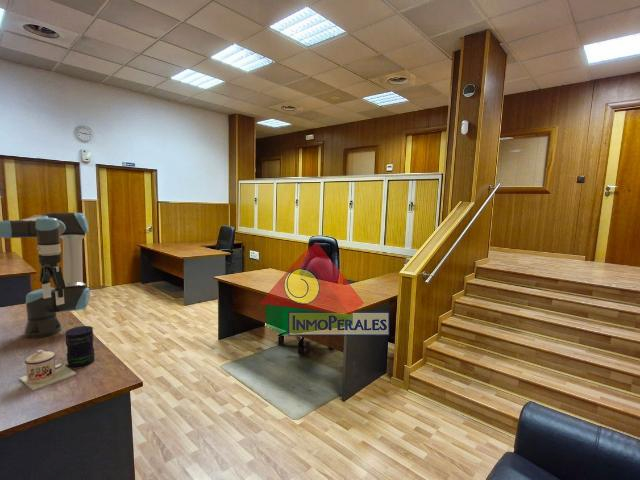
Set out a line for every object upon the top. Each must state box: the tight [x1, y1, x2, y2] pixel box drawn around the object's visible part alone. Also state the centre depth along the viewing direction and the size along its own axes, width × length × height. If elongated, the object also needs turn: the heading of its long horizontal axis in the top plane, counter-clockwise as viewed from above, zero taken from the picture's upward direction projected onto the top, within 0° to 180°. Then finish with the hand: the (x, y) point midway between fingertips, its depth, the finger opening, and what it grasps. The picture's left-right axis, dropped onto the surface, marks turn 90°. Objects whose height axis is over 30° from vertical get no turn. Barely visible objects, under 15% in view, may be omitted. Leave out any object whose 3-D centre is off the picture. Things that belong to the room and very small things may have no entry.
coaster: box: [19, 362, 77, 391], centre depth 132 cm, size 14×14×1 cm
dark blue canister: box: [65, 325, 96, 369], centre depth 143 cm, size 10×10×15 cm
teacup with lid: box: [24, 349, 66, 384], centre depth 130 cm, size 12×9×12 cm
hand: (53, 301), depth 144 cm, fingers open, 13 cm apart
